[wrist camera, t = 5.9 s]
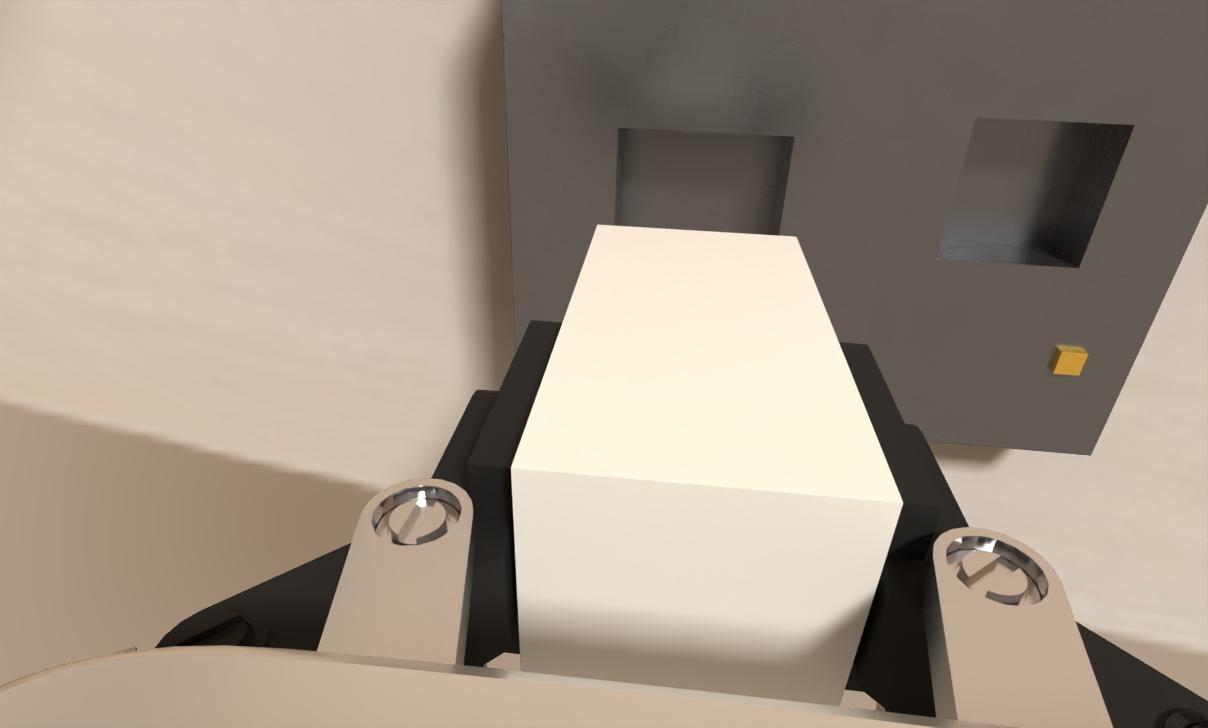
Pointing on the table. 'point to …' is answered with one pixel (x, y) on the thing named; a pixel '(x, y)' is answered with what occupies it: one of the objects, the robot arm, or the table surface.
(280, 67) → the table surface
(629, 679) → the plug
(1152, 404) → the table surface
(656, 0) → the panel
